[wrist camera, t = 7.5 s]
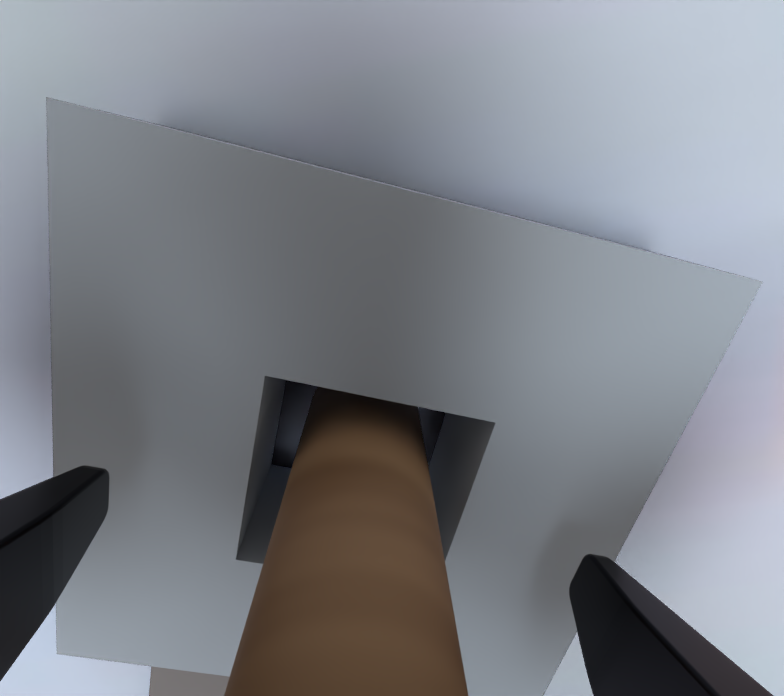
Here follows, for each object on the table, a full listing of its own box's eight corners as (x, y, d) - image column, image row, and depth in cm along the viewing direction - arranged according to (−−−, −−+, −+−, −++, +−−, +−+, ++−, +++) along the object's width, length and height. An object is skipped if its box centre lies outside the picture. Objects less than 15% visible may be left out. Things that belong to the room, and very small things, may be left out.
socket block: (499, 600, 15) (532, 716, 12) (132, 542, 14) (56, 653, 11) (650, 251, 11) (762, 281, 8) (155, 123, 10) (45, 97, 7)
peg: (403, 467, 13) (446, 962, 5) (301, 448, 13) (161, 946, 5) (430, 376, 12) (544, 803, 4) (321, 353, 12) (186, 767, 4)
